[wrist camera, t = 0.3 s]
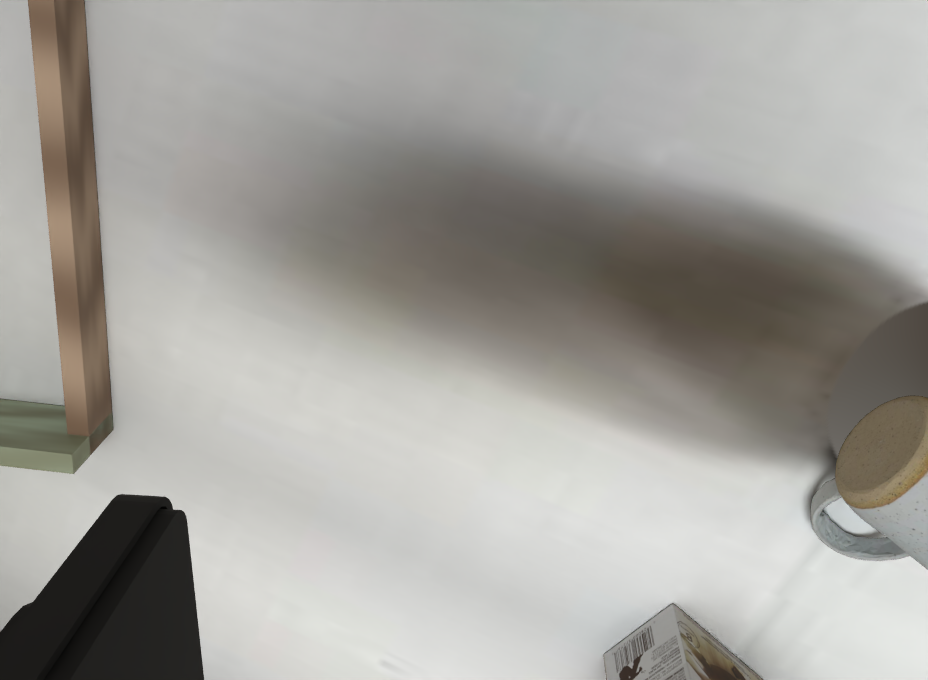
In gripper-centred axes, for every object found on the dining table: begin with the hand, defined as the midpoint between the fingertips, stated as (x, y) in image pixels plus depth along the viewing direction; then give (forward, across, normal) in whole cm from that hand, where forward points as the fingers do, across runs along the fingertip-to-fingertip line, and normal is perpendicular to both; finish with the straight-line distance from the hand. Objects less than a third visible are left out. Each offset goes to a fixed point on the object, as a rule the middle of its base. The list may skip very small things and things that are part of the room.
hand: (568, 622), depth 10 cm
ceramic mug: (+36, -22, +18) cm, 46 cm away
